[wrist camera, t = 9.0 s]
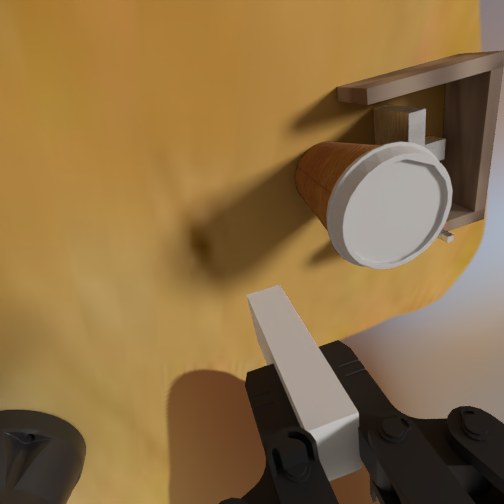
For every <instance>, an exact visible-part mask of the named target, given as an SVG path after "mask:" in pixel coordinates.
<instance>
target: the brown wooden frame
mask: <svg viewBox="0 0 504 504" xmlns="http://www.w3.org/2000/svg"><path fill="white" fill-rule="evenodd" d="M503 67H504V51H493V52H479V53H465V54H457V55H453V56H449V57H446V58H442V59H438V60H435V61H431V62H427V63H424V64H420V65H416V66H413V67H409V68H405V69H402V70H398V71H394V72H391V73H387V74H383V75H380V76H376V77H372V78H368V79H365V80H361V81H357V82H354V83H350V84H346V85H343V86H339V87H337V93H338V101H341V102H348V103H356V104H364V105H370V104H373V103H377V102H380V101H384V100H387V99H391V98H394V97H398V96H402V95H405V94H409V93H412V92H416V91H419V90H423V89H426V88H430V87H433V86H437V85H441V84H444V83H446V91H445V108H444V125H443V138H445V139H446V142H445V158H444V159H443V160H441V164H442V165H443V166H444V167H445V169H446V170H447V172H448V174H449V177H450V180H451V185H452V190H453V191H452V203H451V208H450V211H449V214H448V217H447V220H446V223H445V225H444V226H443V228H442V229H443V230H445V231H447V232H448V231H450V230H453V229H456V228H458V227H461V226H464V225H467V224H470V223H473V222H476V221H479V220H482V219H484V212H485V204H486V197H487V189H488V181H489V174H490V166H491V159H492V151H493V143H494V135H495V128H496V120H497V113H498V105H499V97H500V90H501V81H502V74H503Z"/></svg>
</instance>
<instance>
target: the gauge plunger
mask: <svg viewBox="0 0 504 504" xmlns="http://www.w3.org/2000/svg"><path fill="white" fill-rule="evenodd" d="M425 126H426V108H417V107H408V106H399V105H391V104H388V105H384V106H381V107H377V108H374V133H375V145H381V146H382V145H384V144H388V143H394V142H410V143H415V144H418V145H421V146H423V147H425V148H427V149H428V150H430V151H431V152H432V153H433V154H434V155H435V156H436V157H437V159H438V161H440V160H443V159H444V158H445V142H446V139H445V138H440V137H435V136H428V137H425ZM437 237H438V238H440V239H441V240H443V241H445V242H447V243H448V242H451V241H453V237H454V235H453V234H451V233H449V232H447V231H445V230H443V229H442V230H441V231H440V233H439V235H438V236H437Z"/></svg>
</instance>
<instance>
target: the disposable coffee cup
mask: <svg viewBox="0 0 504 504" xmlns="http://www.w3.org/2000/svg"><path fill="white" fill-rule="evenodd" d="M295 180H296V186H297V189H298V191H299V193H300V195H301V196H302V197H303V198H304V200H305V201H306V203H307V204H308V205H309V207H310V208H311V209H312V211H313V212H314V213H315V215H316V216H317V217H318V219H319V220H320V221H321V223H322V224H323V226H324V227H325V228H326V230H327V231H328V234H329V237H330V240H331V242H332V244H333V247H334V248H335V249H336V251H337V252H338V253H339V254H340V255H341V256H342V257H343V258H344V259H345V260H347V261H349V262H350V263H353V264H355V265H358V266H364V267H370V268H373V269H388V268H394V267H397V266H400V265H403V264H405V263H407V262H409V261H411V260H413V259H414V258H415V257H417V256H418V255H420V254H421V253H422V252H423V251H424V250H426V249H427V248H428V247H429V246H430V245H431V243H432V242H433V241H434V240H435V239H436V238H437V236H438V235H439V233H440V231H441V230H442V228H443V226H444V225H445V223H446V220H447V217H448V214H449V211H450V208H451V203H452V191H453V190H452V185H451V180H450V177H449V174H448V172H447V170H446V169H445V167H444V166H443V165H442V164H441V163H440V162H439V161H438V159H437V157H436V156H435V155H434V154H433V153H432V152H431V151H430V150H428V149H427V148H425V147H423V146H421V145H418V144H415V143H410V142H394V143H388V144H384V145H382V146H381V145H368V144H355V143H342V142H331V141H327V142H321V143H319V144H316V145H315V146H313V147H311V148H310V149H309V150H308V151H307V152H306V153H305V154H304V155H303V156H302V158H301V160H300V161H299V163H298V166H297V170H296V175H295Z"/></svg>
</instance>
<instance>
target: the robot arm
mask: <svg viewBox="0 0 504 504" xmlns="http://www.w3.org/2000/svg"><path fill="white" fill-rule="evenodd" d="M247 298H248V303H249V307H250V311H251V315H252V319H253V323H254V327H255V331H256V335H257V339H258V343H259V345H260V348H261V350H262V353H263V355H264V358H265V360H266V363H267V366H264V367H262V368H259V369H256V370H253V371H250V372H247V377H246V383H245V387H246V391H247V394H248V397H249V401H250V404H251V408H252V411H253V414H254V417H255V421H256V424H257V428H258V431H259V434H260V438H261V441H262V444H263V447H264V451H265V455H266V467H265V470H264V474H263V476H262V477H261V479H260V481H259V482H258V483H257V484H256V486H255V487H254V488H253V489H251V490H250V491H249V492H248V493H247V494H246V495H244V496H243V497H242V498H241V499H239V498H230V499H227V500H224V501H221V502H220V503H219V504H339V503H338V501H337V499H336V496H335V494H334V492H333V489H332V487H331V485H330V483H329V481H332V480H334V479H336V478H339V477H341V476H344V475H346V474H349V473H351V472H354V471H356V470H359V469H361V468H362V464H361V460H362V461H363V463H364V465H365V467H366V469H367V470H368V472H369V474H370V494H371V497H372V500H373V502H375V501H376V496H377V498H378V500H379V502H380V504H504V424H503V423H502V422H500V421H499V420H498V419H496V418H495V417H493V416H492V415H491V414H489V413H487V412H485V411H483V410H481V409H479V408H475V407H471V406H461V407H458V408H455V409H453V410H452V411H451V412H450V414H449V415H448V418H447V419H417V418H413V417H409V416H407V415H405V414H403V413H401V412H400V411H398V410H397V409H396V408H395V407H394V406H393V405H392V404H391V403H390V402H389V400H388V399H387V397H386V396H385V395H384V393H383V392H382V391H381V389H380V388H379V386H378V385H377V384H376V382H375V381H374V380H373V378H372V377H371V376H370V374H369V373H368V371H367V370H365V368H364V366H363V365H362V363H361V362H360V361H359V360H358V358H357V357H356V355H355V354H354V352H353V351H352V350H351V348H349V347H348V346H346V345H345V344H343V343H342V342H340V341H339V340H337V341H334V342H331V343H328V344H326V345H323V346H320V347H318V346H317V344H316V342H315V341H314V339H313V338H312V336H311V334H310V333H309V331H308V329H307V328H306V326H305V325H304V323H303V321H302V320H301V318H300V317H299V315H298V313H297V312H296V310H295V308H294V307H293V305H292V304H291V302H290V300H289V299H288V297H287V295H286V294H285V292H284V291H283V289H282V287H281V286H280V285H276V286H273V287H270V288H267V289H264V290H261V291H257V292H254V293H251V294H248V295H247ZM85 454H86V445H85V441H84V439H83V437H82V435H81V434H80V432H79V431H78V430H77V429H76V428H75V427H74V426H72V425H71V424H69V423H68V422H66V421H64V420H62V419H60V418H58V417H56V416H53V415H49V414H46V413H41V412H36V411H26V410H9V411H0V504H66V503H67V501H68V499H69V497H70V495H71V493H72V490H73V489H74V487H75V486H76V484H77V482H78V481H79V479H80V476H81V474H82V470H83V466H84V460H85Z"/></svg>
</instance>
